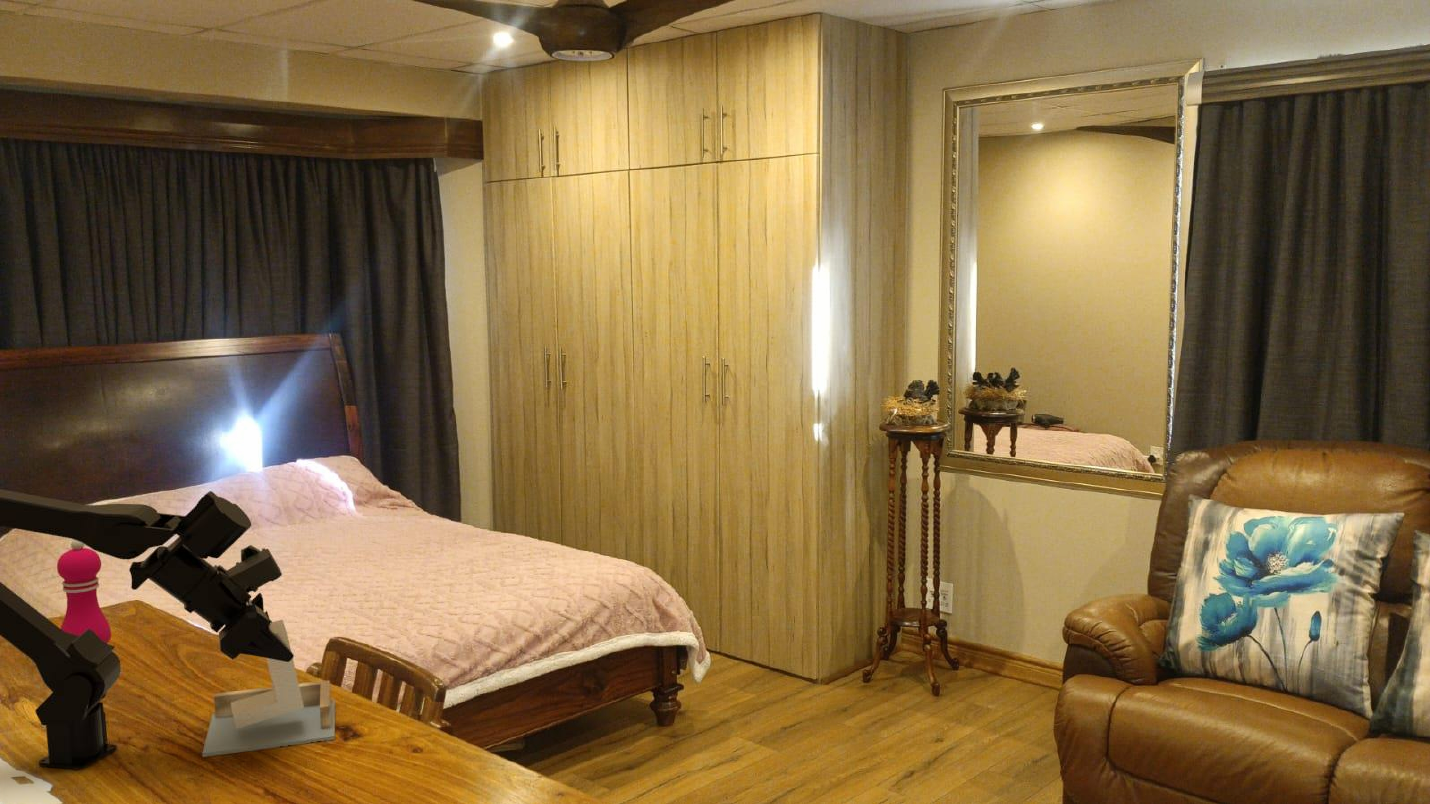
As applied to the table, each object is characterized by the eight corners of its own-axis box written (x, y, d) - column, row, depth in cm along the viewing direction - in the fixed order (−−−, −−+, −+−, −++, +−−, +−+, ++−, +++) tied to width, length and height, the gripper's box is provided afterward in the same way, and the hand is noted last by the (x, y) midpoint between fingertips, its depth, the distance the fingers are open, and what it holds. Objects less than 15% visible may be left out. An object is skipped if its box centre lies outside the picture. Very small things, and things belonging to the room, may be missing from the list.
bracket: (236, 729, 150) (217, 649, 148) (233, 715, 155) (214, 638, 152) (304, 707, 154) (286, 630, 151) (299, 695, 158) (282, 619, 156)
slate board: (202, 757, 148) (202, 753, 148) (212, 718, 160) (212, 714, 160) (334, 739, 153) (334, 736, 153) (334, 703, 165) (334, 700, 165)
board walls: (209, 747, 151) (207, 721, 150) (216, 717, 160) (214, 693, 160) (330, 731, 155) (329, 706, 155) (330, 703, 165) (329, 680, 164)
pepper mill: (123, 656, 185) (113, 533, 183) (94, 672, 178) (84, 545, 176) (80, 655, 186) (70, 533, 183) (50, 671, 179) (39, 544, 176)
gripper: (245, 550, 142) (342, 625, 148) (234, 518, 158) (322, 587, 164) (177, 621, 139) (279, 694, 145) (174, 581, 156) (266, 649, 162)
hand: (289, 652), depth 154 cm, fingers closed on bracket, 5 cm apart
